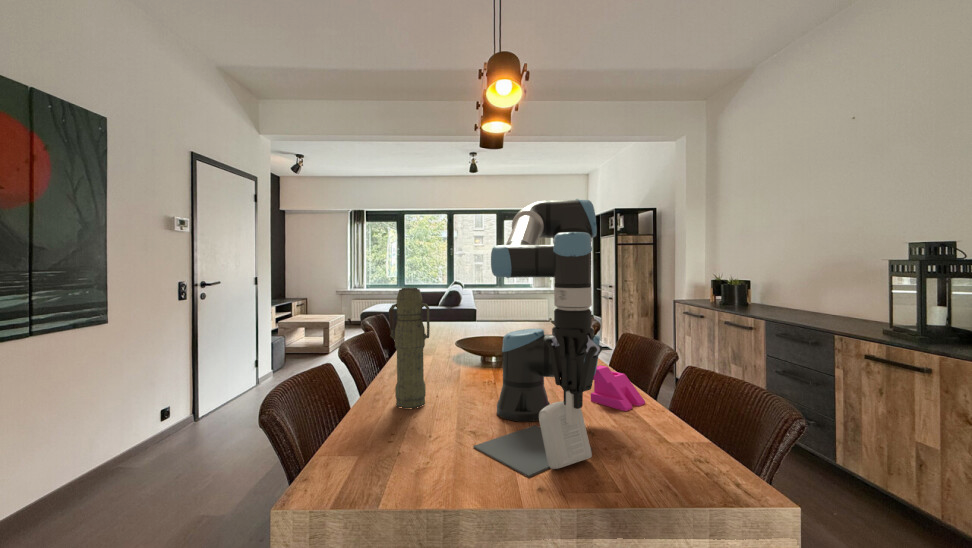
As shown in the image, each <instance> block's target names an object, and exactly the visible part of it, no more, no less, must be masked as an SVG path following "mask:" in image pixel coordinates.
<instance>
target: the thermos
mask: <svg viewBox="0 0 972 548" xmlns="http://www.w3.org/2000/svg"><path fill="white" fill-rule="evenodd" d="M424 307H425V309H426V327H425V325H424V323H423V308H424ZM395 308H396V316H397V319H396V325H395V323H394V322H395V320H394V319H395V317H394V315H395V314H394V312H395V311H394V309H395ZM388 314H389V315H388V317H389V336H390V338H392V340H394V348H395V349H396V378H397V379H396V384H395V388H394V389H395V390H394V391H395V392H394V393H395V394H394V395H395V399H396V402H395V406H396V405H397V406H398V407H402V408H416V409H418V408H417V407H420V406H422V405H424V404H425V405H426V394H427V393H426V388H427V387H426V381H425V378H424V376H425V375H424V370H425V369H424V349H425V345H426V342H425V341H426V340H427V339H429V338H430V334H431V333H430V329H431V328H430V307H429V305H428V304H427V303H424V302H423V296H422V292H421V290H420V288H418V287H401V288H400V289H399V290H398V293H397V295H396V303H394V304H391V306H390V307H389V313H388ZM394 325H395V326H394ZM425 329H426V331H425ZM425 405H424V406H425ZM397 406H396V407H397ZM398 407H397V408H398ZM422 407H423V406H422ZM420 408H421V407H420Z"/></svg>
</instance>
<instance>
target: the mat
mask: <svg viewBox="0 0 972 548" xmlns="http://www.w3.org/2000/svg"><path fill="white" fill-rule="evenodd" d="M473 447H474V448H473ZM472 448H473V449H475V448H476V449H475V450H477V451H479V452H480V451H481V454H482V453H483V454H484V455H486V456H488V457H490V458H492V459H494V461H495V460H496V461H497V462H499V463H500V464H503V465H505V466H506V467H508V468H509V469H512V470H514V471H516V472H518V473H520V474H521V475H523V476H525V477H527V478H530V477H533V476H535V475H537V474H539V473H543V472H544V471H547V470H550V469H551V468H550V467H549V465H548V461H547V456H546V451H545V447H544V442H543V437H542V432H541V427H540V425H539V426H538V425H536V424H535V425H531V426H528V427H525V428H522V429H519V430H517V431H513V432H510V433H507V434H504V435H502V436H498V437H496V438H492V439H490V440H487V441H484V442H481V443H478V444H475V445H472ZM590 448H591V451H593V447H591V446H590Z"/></svg>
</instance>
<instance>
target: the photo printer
mask: <svg viewBox="0 0 972 548" xmlns="http://www.w3.org/2000/svg"><path fill="white" fill-rule="evenodd" d="M538 421H539V427H541V432H542V437H543V442H544V447H545V451H546V456H547V461H548V465H549V467H550V468H549V469H551V470H559V469H561V468H564V467H567V466H571V465H573V464H577V463H579V462H581V461H585V460H589V459H591V458H592V457H593V454H592V450H591V448H592V447H591V445H590V441H589V436H588V432H587V429H586V428H587V427H586V424H585V419H584V415H583V410H582V408H580V422H578V423H576V424H573V425H570V424H568V423H566V405H564V400H561V401H556V402H552V403H550V405H548V406H546V407H545V408H543V409H542V410H541V411H540V413H539V420H538ZM590 447H591V448H590Z"/></svg>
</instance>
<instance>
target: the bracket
mask: <svg viewBox="0 0 972 548" xmlns="http://www.w3.org/2000/svg"><path fill="white" fill-rule="evenodd" d="M590 402H593V403H596V404H599V405H603V406H606V407H610V408H613V409H615V410H620V411H623V412H627V411H630V410H633V406H637V407H640V406H643V405H645V404H646V401H645V399H644V398H643V397H642V395H641V394H640V393H639V391H638V390H637V388H636V387H635V385H634V384H633V383H632V382H631V380H630V379H629V378H628V376H627V375H626V373H622V372H617V371H612V370H611V369H610V367H609V366H605V365H597V369H596V373H595V375H594V378H593V392H591V393H590Z"/></svg>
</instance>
